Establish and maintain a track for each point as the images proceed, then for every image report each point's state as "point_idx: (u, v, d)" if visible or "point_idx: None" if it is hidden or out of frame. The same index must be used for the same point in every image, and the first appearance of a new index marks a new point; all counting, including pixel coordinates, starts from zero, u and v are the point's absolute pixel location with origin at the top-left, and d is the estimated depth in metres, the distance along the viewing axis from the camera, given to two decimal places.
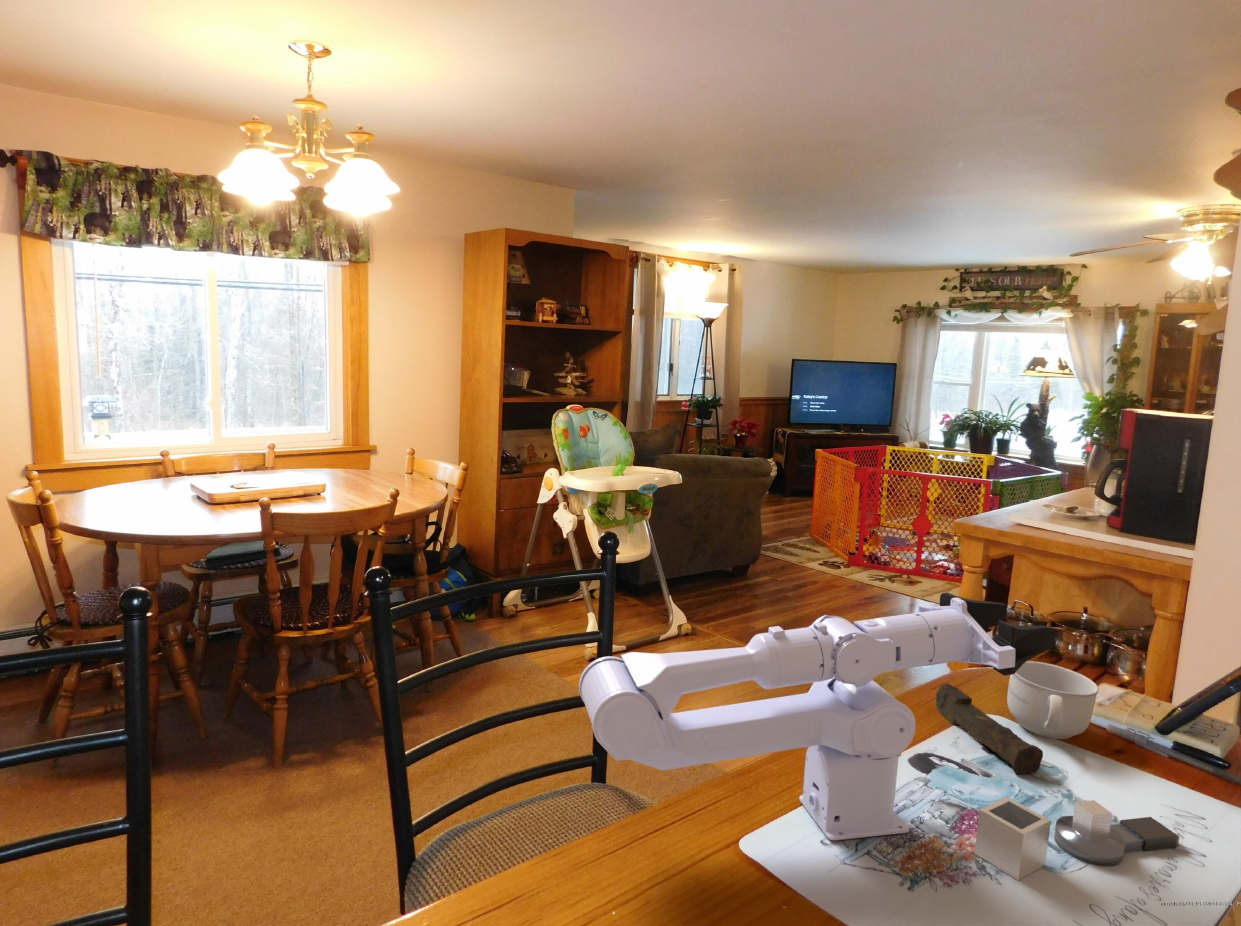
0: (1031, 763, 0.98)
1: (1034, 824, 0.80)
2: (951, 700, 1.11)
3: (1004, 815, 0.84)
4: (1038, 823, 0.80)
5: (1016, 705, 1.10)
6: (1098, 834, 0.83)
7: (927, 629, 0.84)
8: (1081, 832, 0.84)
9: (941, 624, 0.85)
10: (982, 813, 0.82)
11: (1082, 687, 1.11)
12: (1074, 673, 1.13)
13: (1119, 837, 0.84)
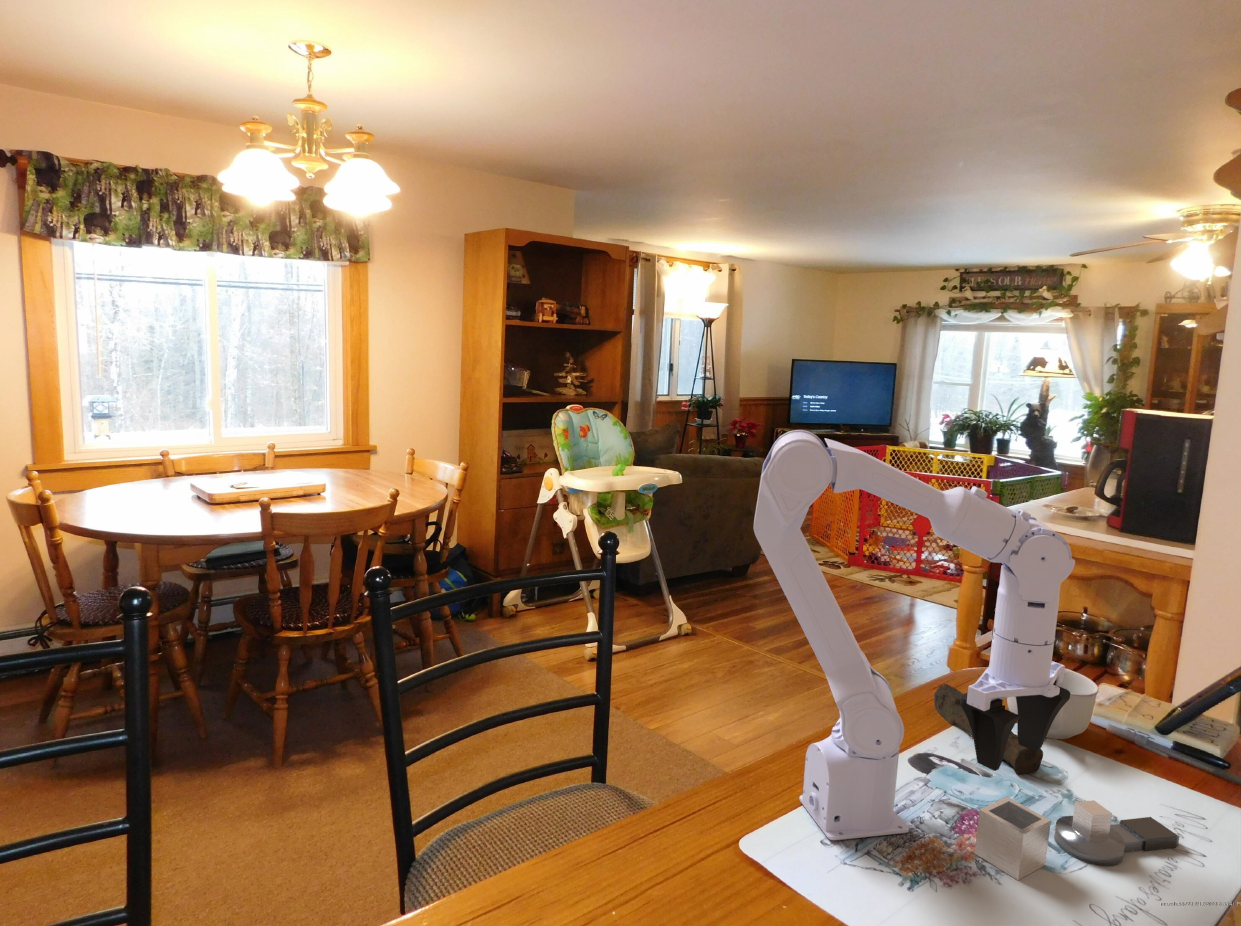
0: (1032, 762, 0.99)
1: (1035, 824, 0.80)
2: (950, 700, 1.11)
3: (1004, 815, 0.84)
4: (1038, 823, 0.80)
5: (1016, 705, 1.10)
6: (1098, 834, 0.83)
7: (1050, 641, 0.80)
8: (1081, 832, 0.84)
9: (1032, 659, 0.80)
10: (982, 813, 0.82)
11: (1082, 687, 1.11)
12: (1074, 673, 1.13)
13: (1119, 837, 0.84)
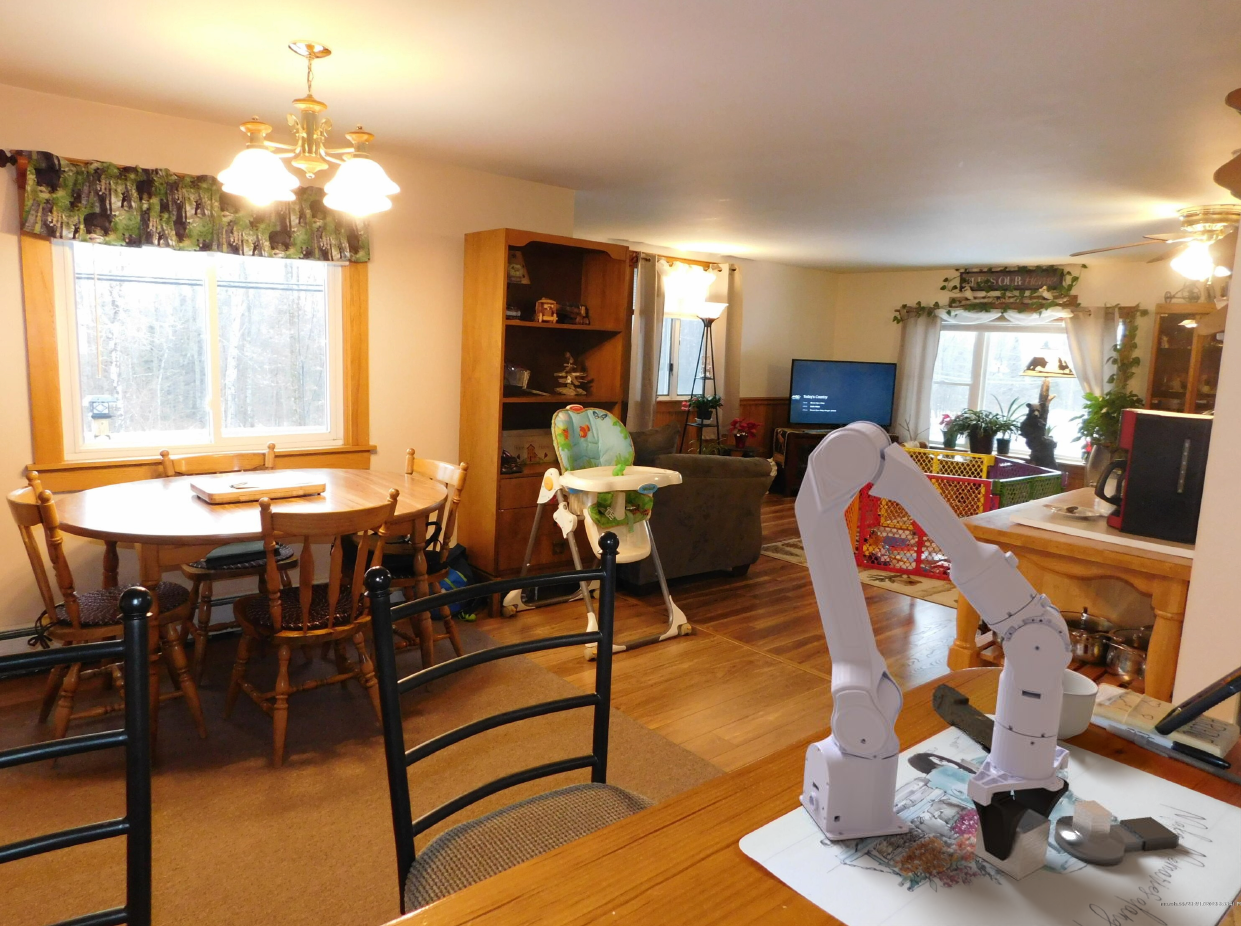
0: None
1: (1034, 824, 0.80)
2: (948, 700, 1.11)
3: None
4: (1038, 823, 0.80)
5: None
6: (1098, 834, 0.83)
7: (1049, 733, 0.77)
8: (1081, 832, 0.84)
9: (1035, 751, 0.77)
10: None
11: (1082, 687, 1.11)
12: (1074, 673, 1.13)
13: (1119, 837, 0.84)
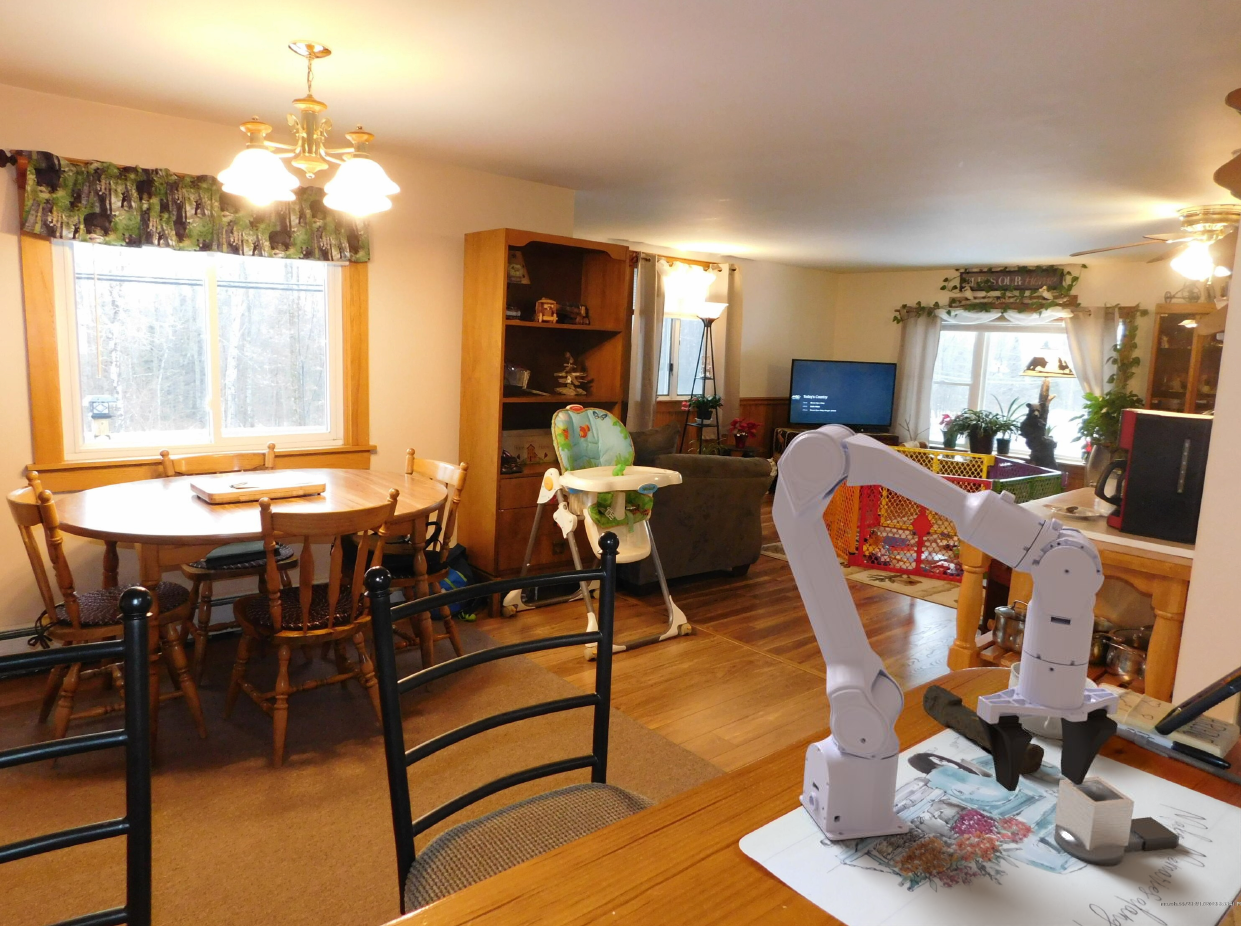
0: (1035, 762, 0.99)
1: (1113, 801, 0.82)
2: (942, 701, 1.11)
3: (1091, 793, 0.86)
4: (1118, 801, 0.82)
5: None
6: None
7: (1079, 661, 0.75)
8: None
9: (1053, 678, 0.75)
10: (1061, 784, 0.85)
11: None
12: None
13: None
